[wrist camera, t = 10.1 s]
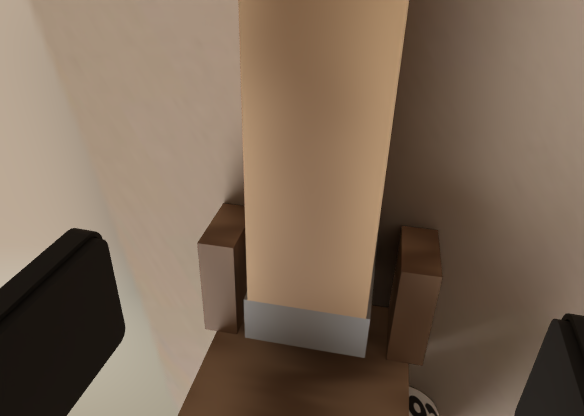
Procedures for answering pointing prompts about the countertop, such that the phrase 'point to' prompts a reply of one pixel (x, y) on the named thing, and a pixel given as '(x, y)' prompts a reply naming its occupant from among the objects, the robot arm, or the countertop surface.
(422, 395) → the cup
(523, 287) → the countertop surface
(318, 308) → the wooden block
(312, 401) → the wooden footed block
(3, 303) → the robot arm
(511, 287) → the countertop surface
